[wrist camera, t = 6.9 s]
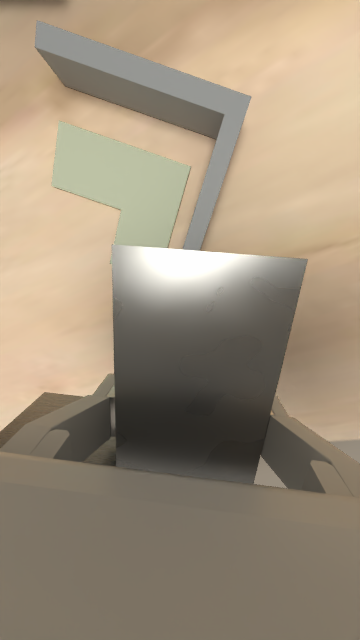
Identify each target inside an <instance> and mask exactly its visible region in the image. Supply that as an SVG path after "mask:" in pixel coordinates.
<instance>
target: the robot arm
mask: <svg viewBox="0 0 360 640" xmlns="http://www.w3.org/2000/svg"><path fill="white" fill-rule="evenodd" d="M110 437H116V431H115V381H114V374H108V375H107V376H106V378H105V379H104V380H103V382H102V383H101V384H100V386H99V387H98V388H97V390H96V391H95V392H94V394H93V395H88V396H85V397H83V398H81V399H79V400H77V401H75V402H72V403H70V404H68V405H66V406H64V407H62V408H60V409H57V410H55V411H53V412H51V413H49V414H47V415H44V416H42V417H40V418H38V419H36V420H34V421H31V422H29V423H27V424H25V425H24V426H23V427H22V428H21V429H20V430H19V431H18V432H17V433H16V434H15V435H14V436H13V437H12V438H11V439H10V440H9V441H8V442H7V443H6V444H5V445H4V446H3V447H1V448H0V640H360V464H359V463H358V462H357V461H355V460H354V459H352V458H351V457H349V456H348V455H347V454H345V453H344V452H342V451H341V450H339V449H338V448H336V447H335V446H333V445H332V444H331V443H329V442H328V441H326V440H325V439H323V438H322V437H320V436H319V435H318V434H316V433H315V432H313V431H312V430H310V429H309V428H307V427H306V426H305V425H303V424H302V423H300V422H299V421H297V420H296V419H294V418H292V417H289V416H288V414H287V412H286V411H285V409H284V407H283V406H282V404H281V402H280V401H279V399H278V397H277V396H276V394H275V397H274V401H273V405H272V409H271V413H270V417H269V421H268V426H267V430H266V434H265V438H264V442H263V446H262V450H261V456H262V458H263V459H264V460H265V461H266V463H267V464H268V465H269V466H270V467H271V469H272V470H273V471H274V472H275V473H276V475H277V476H278V477H279V478H280V479H281V481H282V482H283V483H284V484H285V485H286V487H287V488H288V489H287V488H279V487H272V486H264V485H256V484H249V483H241V482H233V481H225V480H218V479H210V478H202V477H194V476H186V475H178V474H170V473H162V472H154V471H146V470H138V469H130V468H123V467H115V466H107V465H99V464H91V463H83V461H84V460H85V459H86V458H88V457H89V456H90V455H91V454H92V453H93V452H95V451H96V450H97V449H98V448H99V447H100V446H102V445H103V444H104V443H105V442H106V441H107V440H109V439H110Z"/></svg>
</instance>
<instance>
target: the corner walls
mask: <svg viewBox="0 0 360 640" xmlns="http://www.w3.org/2000/svg"><path fill="white" fill-rule="evenodd" d="M35 48H36V49H37V51H38V52H39V53H40V54H41V56H42V57H43V58H44V60H45V61H46V62H47V63H48V65H49V66H50V67H51V69H52V70H53V71H54V72H55V74H56V75H57V76H58V78H59V79H60V80H61V81H62V83H63V84H64V85H65V86H66V87H69V88H72V89H75V90H78V91H80V92H83V93H86V94H89V95H92V96H95V97H98V98H100V99H103V100H106V101H109V102H112V103H115V104H117V105H120V106H123V107H126V108H129V109H132V110H135V111H137V112H140V113H143V114H146V115H149V116H152V117H154V118H157V119H160V120H163V121H166V122H169V123H171V124H174V125H177V126H180V127H183V128H186V129H189V130H191V131H194V132H197V133H200V134H203V135H206V136H208V137H211V138H214V139H217V140H216V144H215V147H214V150H213V153H212V156H211V160H210V163H209V166H208V169H207V173H206V176H205V179H204V182H203V185H202V189H201V192H200V195H199V198H198V201H197V205H196V208H195V211H194V214H193V218H192V221H191V224H190V227H189V230H188V234H187V237H186V240H185V243H184V246H183V250H193V251H200V248H201V245H202V242H203V239H204V236H205V233H206V230H207V227H208V224H209V222H210V219H211V216H212V213H213V210H214V207H215V204H216V201H217V198H218V195H219V192H220V189H221V186H222V183H223V180H224V177H225V174H226V171H227V168H228V165H229V162H230V159H231V156H232V153H233V150H234V147H235V144H236V141H237V138H238V135H239V132H240V129H241V126H242V123H243V120H244V117H245V114H246V111H247V108H248V105H249V102H250V99H251V96H248V95H245V94H242V93H240V92H237V91H234V90H231V89H228V88H226V87H223V86H220V85H217V84H214V83H212V82H209V81H206V80H203V79H200V78H197V77H195V76H192V75H189V74H186V73H183V72H181V71H178V70H175V69H172V68H169V67H167V66H164V65H161V64H158V63H155V62H153V61H150V60H147V59H144V58H141V57H139V56H136V55H133V54H130V53H127V52H124V51H122V50H119V49H116V48H113V47H110V46H108V45H105V44H102V43H99V42H96V41H94V40H91V39H88V38H85V37H82V36H80V35H77V34H74V33H71V32H68V31H66V30H63V29H60V28H57V27H54V26H52V25H49V24H46V23H43V22H40V21H37V25H36V37H35Z"/></svg>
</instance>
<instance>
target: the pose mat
mask: <svg viewBox="0 0 360 640" xmlns="http://www.w3.org/2000/svg"><path fill="white" fill-rule="evenodd" d="M190 169H191V166H188V165H185V164H182V163H179V162H176V161H173V160H170V159H168V158H165V157H162V156H159V155H156V154H153V153H150V152H148V151H145V150H142V149H139V148H136V147H133V146H130V145H127V144H125V143H122V142H119V141H116V140H113V139H110V138H107V137H105V136H102V135H99V134H96V133H93V132H90V131H87V130H84V129H82V128H79V127H76V126H73V125H70V124H67V123H64V122H62V121H59V125H58V133H57V142H56V151H55V160H54V168H53V177H52V186H53V187H56V188H59V189H61V190H64V191H67V192H70V193H73V194H76V195H79V196H82V197H85V198H88V199H91V200H94V201H96V202H99V203H102V204H105V205H108V206H111V207H114V208H117V209H120V210H121V213H120V218H119V223H118V227H117V232H116V237H115V242H114V245H127V246H140V247H153V248H168V245H169V241H170V238H171V234H172V231H173V227H174V224H175V220H176V217H177V214H178V210H179V207H180V203H181V200H182V196H183V193H184V189H185V186H186V182H187V179H188V175H189V172H190ZM110 264H112V256H111V260H110Z"/></svg>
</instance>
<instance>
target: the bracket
mask: <svg viewBox="0 0 360 640" xmlns="http://www.w3.org/2000/svg"><path fill="white" fill-rule="evenodd" d="M307 260H308V259H299V258H286V257H272V256H259V255H246V254H233V253H219V252H206V251H193V250H180V249H167V248H153V247H140V246H127V245H114V244H112V282H113V331H114V381H115V431H116V437H110V439H109V440H107V441H106V442H105V443H104V444H103V445H102V446H100V447H99V448H98V449H97V450H96V451H95V452H93V453H92V454H91V455H90V456H89V457H88V458H86V459H85V460H84V461H83V463H91V464H99V465H107V466H115V467H123V468H130V469H138V470H146V471H154V472H162V473H170V474H178V475H186V476H194V477H202V478H210V479H218V480H225V481H233V482H241V483H249V484H253V483H254V479H255V475H256V471H257V467H258V463H259V459H260V455H261V450H262V446H263V442H264V438H265V434H266V430H267V426H268V421H269V417H270V413H271V409H272V405H273V401H274V397H275V393H276V388H277V384H278V380H279V376H280V372H281V368H282V364H283V359H284V355H285V351H286V347H287V343H288V339H289V335H290V331H291V326H292V322H293V318H294V314H295V310H296V306H297V302H298V297H299V293H300V289H301V285H302V281H303V277H304V273H305V269H306V264H307ZM81 398H83V397H82V396H73V395H64V394H55V393H46V392H44V393H43V394H42V395H41V396H40V397H39V398H38V399H37V400H35V401H34V402H33V403H32V404H31V405H30V406H29V407H28V408H26V409H25V410H24V411H23V412H22V413H21V414H20V415H19V416H17V417H16V418H15V419H14V420H13V421H12V422H11V423H10V424H9V425H7V426H6V427H5V428H4V429H3V430H2V431H1V432H0V448H1V447H3V446H4V445H5V444H6V443H7V442H8V441H9V440H10V439H11V438H12V437H13V436H14V435H15V434H16V433H17V432H18V431H19V430H20V429H21V428H22V427H23V426H24V425H25V424H27V423H29V422H31V421H34V420H36V419H38V418H40V417H42V416H44V415H47V414H49V413H51V412H53V411H55V410H57V409H60V408H62V407H64V406H66V405H68V404H70V403H72V402H75V401H77V400H79V399H81Z"/></svg>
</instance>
